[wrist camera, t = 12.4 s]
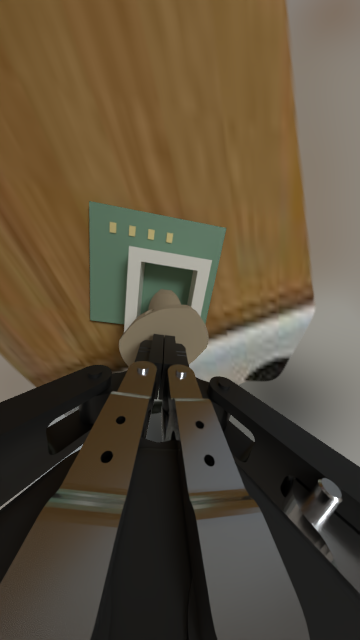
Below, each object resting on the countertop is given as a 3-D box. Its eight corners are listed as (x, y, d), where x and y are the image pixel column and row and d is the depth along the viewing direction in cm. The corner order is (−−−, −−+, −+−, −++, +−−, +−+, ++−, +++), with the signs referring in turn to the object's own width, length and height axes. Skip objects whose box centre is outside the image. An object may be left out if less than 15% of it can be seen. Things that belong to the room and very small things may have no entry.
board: (92, 203, 23) (88, 200, 22) (224, 229, 25) (226, 227, 24) (93, 318, 28) (89, 320, 27) (201, 331, 30) (203, 334, 29)
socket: (135, 247, 24) (129, 245, 20) (205, 259, 25) (212, 260, 21) (129, 327, 28) (123, 338, 24) (190, 335, 29) (194, 346, 25)
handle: (190, 303, 27) (217, 352, 13) (153, 320, 28) (140, 385, 13) (177, 274, 25) (192, 294, 11) (139, 293, 26) (106, 334, 12)
